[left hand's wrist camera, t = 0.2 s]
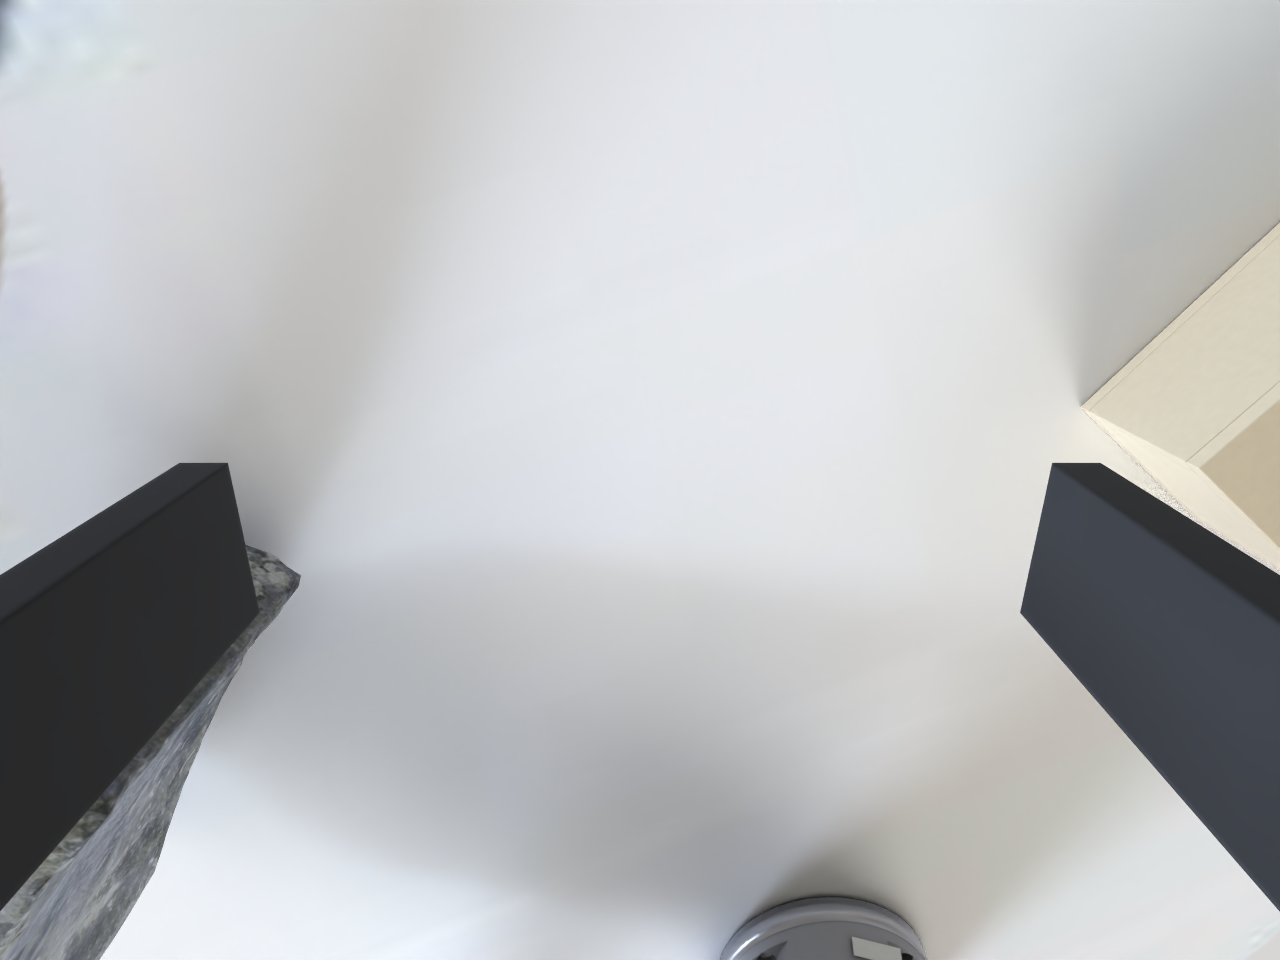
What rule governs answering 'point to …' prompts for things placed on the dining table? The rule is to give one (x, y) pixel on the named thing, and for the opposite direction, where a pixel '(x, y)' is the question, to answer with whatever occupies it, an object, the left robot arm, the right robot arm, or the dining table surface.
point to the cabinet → (1212, 404)
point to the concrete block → (128, 815)
